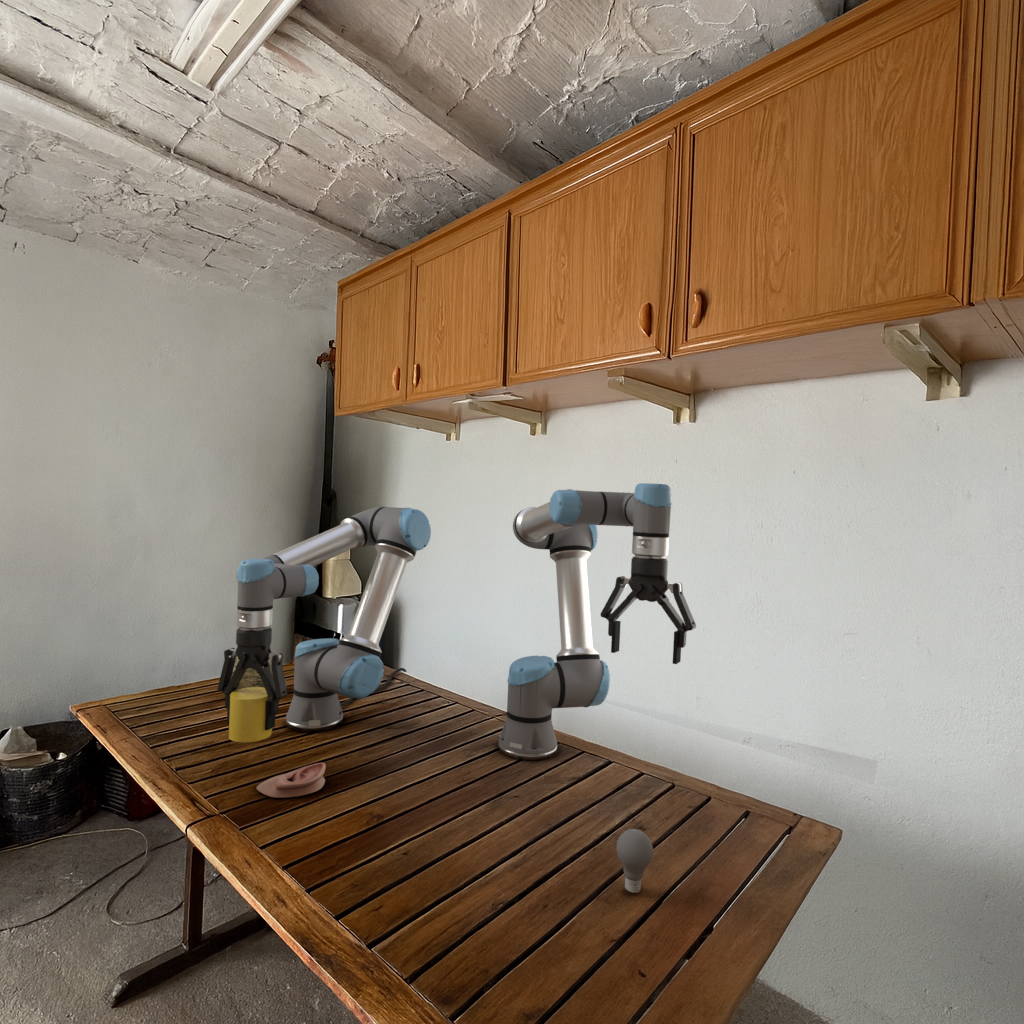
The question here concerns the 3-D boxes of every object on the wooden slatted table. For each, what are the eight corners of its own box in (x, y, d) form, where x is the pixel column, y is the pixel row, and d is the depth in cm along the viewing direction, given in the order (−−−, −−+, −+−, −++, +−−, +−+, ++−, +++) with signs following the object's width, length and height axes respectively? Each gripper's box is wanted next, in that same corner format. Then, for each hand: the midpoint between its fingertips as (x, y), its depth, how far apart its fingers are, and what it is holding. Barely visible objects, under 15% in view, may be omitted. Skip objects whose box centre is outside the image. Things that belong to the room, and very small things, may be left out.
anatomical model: (248, 775, 133) (279, 754, 144) (247, 794, 133) (278, 771, 144) (306, 783, 130) (332, 761, 142) (305, 802, 130) (332, 779, 142)
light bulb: (610, 879, 108) (613, 822, 108) (644, 879, 109) (647, 822, 109) (619, 902, 102) (622, 840, 102) (655, 901, 103) (658, 840, 103)
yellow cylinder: (280, 731, 147) (281, 690, 147) (253, 745, 139) (254, 701, 139) (248, 725, 150) (249, 685, 150) (219, 738, 142) (220, 695, 141)
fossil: (218, 695, 195) (220, 647, 195) (278, 685, 208) (279, 640, 207) (228, 703, 189) (230, 653, 188) (289, 692, 201) (290, 645, 201)
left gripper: (201, 626, 143) (198, 724, 143) (287, 635, 138) (283, 737, 138) (224, 620, 150) (221, 714, 151) (306, 628, 145) (302, 725, 146)
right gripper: (588, 552, 137) (583, 650, 137) (704, 563, 123) (698, 671, 124) (603, 551, 143) (598, 644, 144) (714, 561, 130) (709, 664, 130)
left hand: (251, 725), depth 145 cm, fingers closed on yellow cylinder, 9 cm apart
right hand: (644, 657), depth 134 cm, fingers open, 13 cm apart
